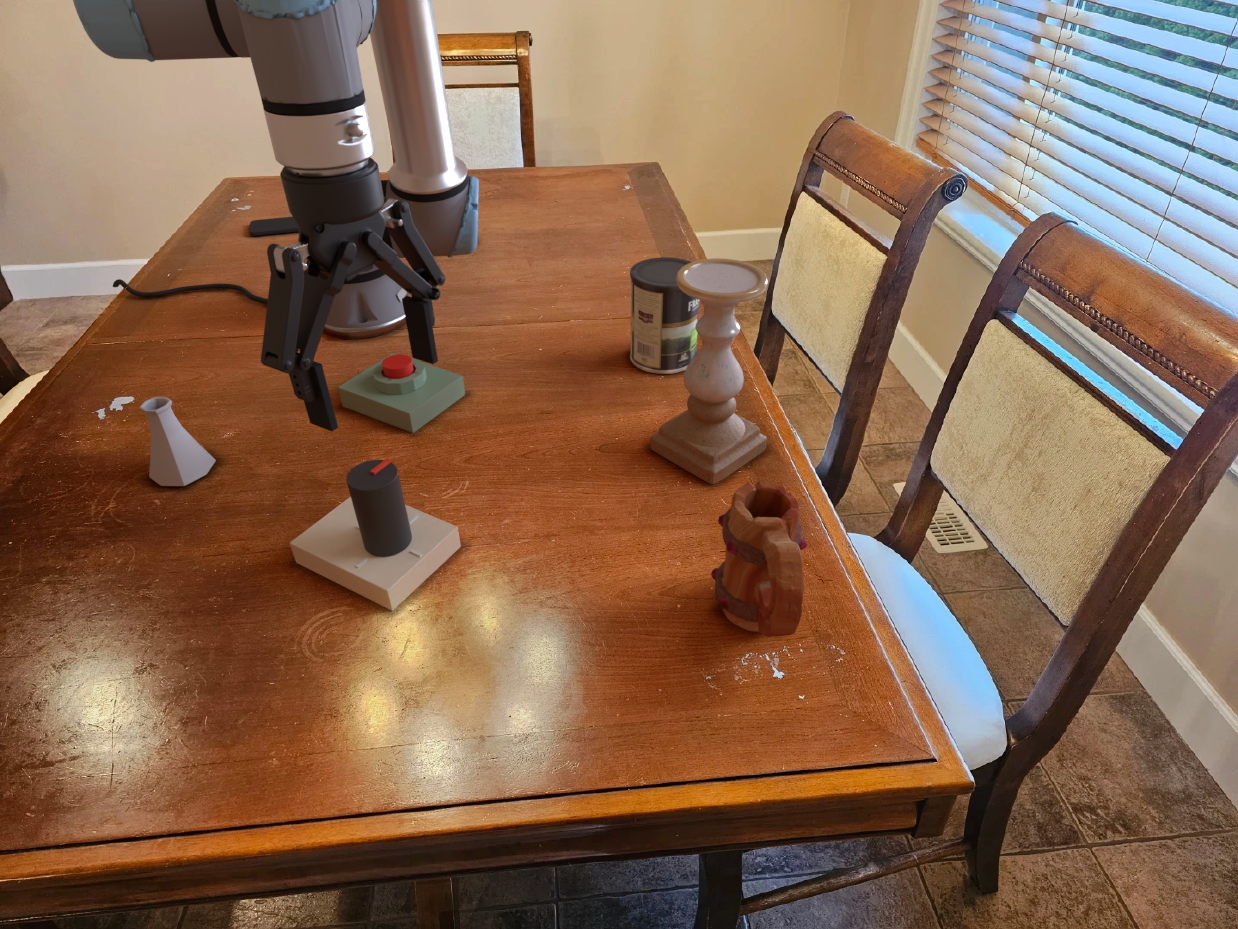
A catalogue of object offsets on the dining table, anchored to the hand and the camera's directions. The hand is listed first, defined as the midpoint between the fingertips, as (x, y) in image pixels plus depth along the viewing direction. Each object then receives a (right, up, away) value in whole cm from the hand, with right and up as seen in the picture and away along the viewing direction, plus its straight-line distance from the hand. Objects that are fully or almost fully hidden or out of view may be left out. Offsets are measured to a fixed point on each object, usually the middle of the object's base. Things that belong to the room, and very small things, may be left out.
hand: (377, 390), depth 76 cm
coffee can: (+30, +9, +46) cm, 56 cm away
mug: (+37, -23, +3) cm, 44 cm away
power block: (-7, +2, +36) cm, 37 cm away
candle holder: (+35, -5, +27) cm, 44 cm away
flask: (-32, -8, +24) cm, 40 cm away
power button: (-7, +6, +34) cm, 35 cm away
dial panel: (-3, -17, +12) cm, 21 cm away
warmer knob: (-2, -15, +9) cm, 18 cm away
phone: (-45, +42, +89) cm, 108 cm away
